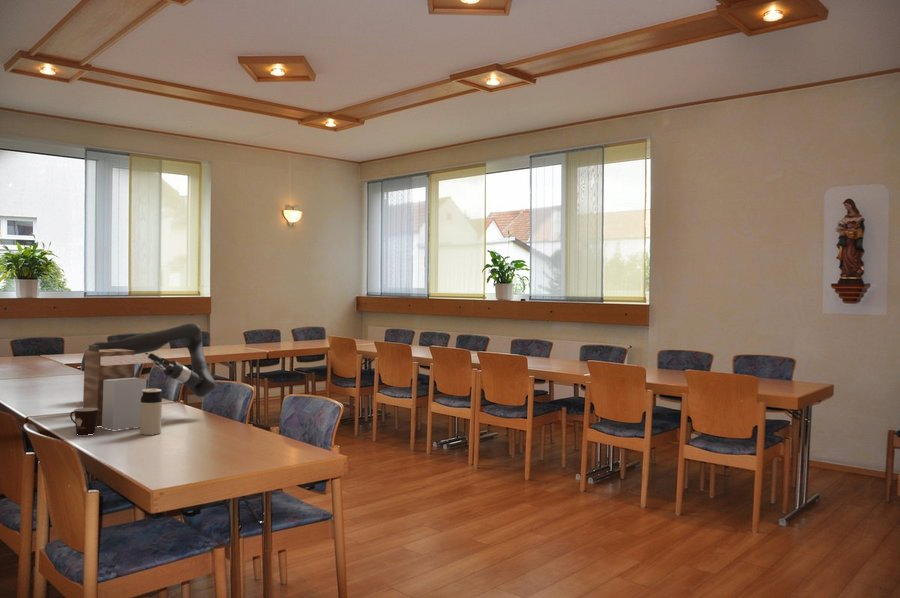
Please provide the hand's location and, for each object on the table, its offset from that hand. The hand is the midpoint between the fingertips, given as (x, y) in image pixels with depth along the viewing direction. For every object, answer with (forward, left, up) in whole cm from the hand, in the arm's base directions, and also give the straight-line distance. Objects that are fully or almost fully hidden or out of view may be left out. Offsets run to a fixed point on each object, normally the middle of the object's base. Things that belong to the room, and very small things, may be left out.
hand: (147, 355), depth 300 cm
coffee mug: (-16, -21, -31) cm, 41 cm away
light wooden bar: (-5, -6, -3) cm, 8 cm away
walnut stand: (-16, +1, -30) cm, 35 cm away
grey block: (-6, -7, -30) cm, 32 cm away
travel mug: (+9, -18, -31) cm, 37 cm away
